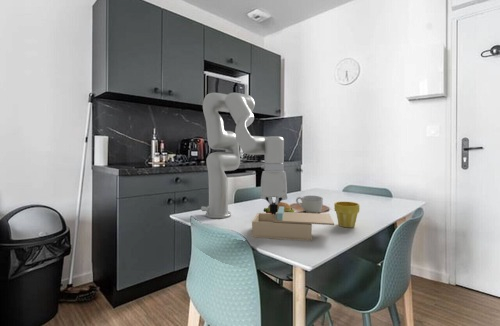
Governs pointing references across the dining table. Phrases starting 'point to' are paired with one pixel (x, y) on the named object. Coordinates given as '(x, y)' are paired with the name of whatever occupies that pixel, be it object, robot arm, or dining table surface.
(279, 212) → the lid
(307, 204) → the teacup
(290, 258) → the dining table surface
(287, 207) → the food
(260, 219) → the box
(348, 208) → the plant pot
